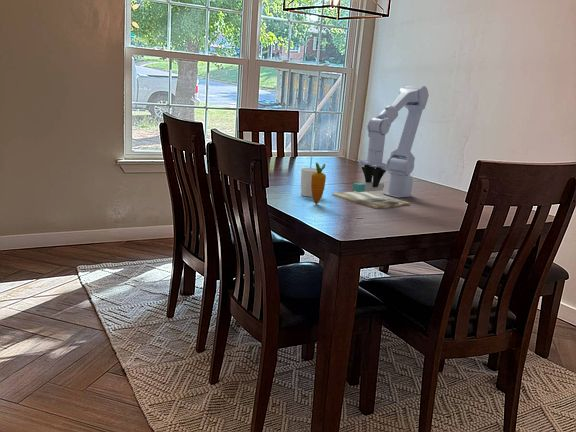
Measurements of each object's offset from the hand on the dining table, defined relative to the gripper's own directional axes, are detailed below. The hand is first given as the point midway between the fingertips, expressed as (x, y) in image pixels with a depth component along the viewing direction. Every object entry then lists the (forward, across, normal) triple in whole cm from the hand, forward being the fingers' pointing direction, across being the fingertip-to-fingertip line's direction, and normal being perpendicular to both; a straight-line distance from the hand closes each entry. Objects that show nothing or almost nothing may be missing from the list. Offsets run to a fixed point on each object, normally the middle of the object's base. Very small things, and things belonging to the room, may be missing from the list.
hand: (371, 186), depth 202 cm
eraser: (+2, 0, 0) cm, 2 cm away
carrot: (+6, -1, -26) cm, 27 cm away
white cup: (+6, -15, -18) cm, 24 cm away
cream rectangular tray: (+5, 0, 0) cm, 5 cm away
